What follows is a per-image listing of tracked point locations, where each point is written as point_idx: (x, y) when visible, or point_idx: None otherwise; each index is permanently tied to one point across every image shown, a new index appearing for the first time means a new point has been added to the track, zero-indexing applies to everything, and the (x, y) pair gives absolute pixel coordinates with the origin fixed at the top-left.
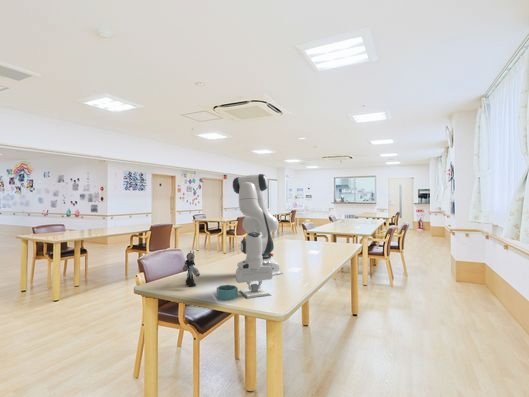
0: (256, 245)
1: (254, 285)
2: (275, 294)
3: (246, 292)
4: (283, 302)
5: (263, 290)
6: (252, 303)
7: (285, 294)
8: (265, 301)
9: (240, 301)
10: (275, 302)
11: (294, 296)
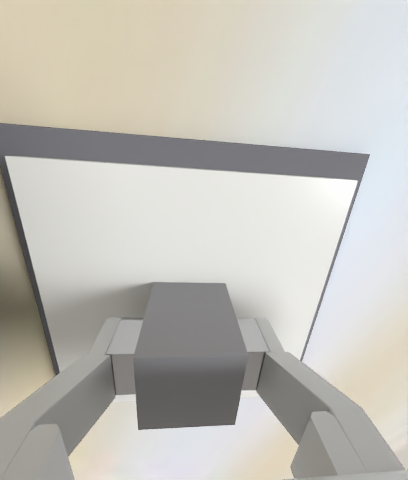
0: None
1: (173, 424)
2: (340, 359)
3: (81, 317)
4: (279, 468)
5: (292, 320)
6: (97, 448)
7: (396, 379)
8: (194, 441)
9: (9, 406)
10: (240, 461)
11: (404, 419)
